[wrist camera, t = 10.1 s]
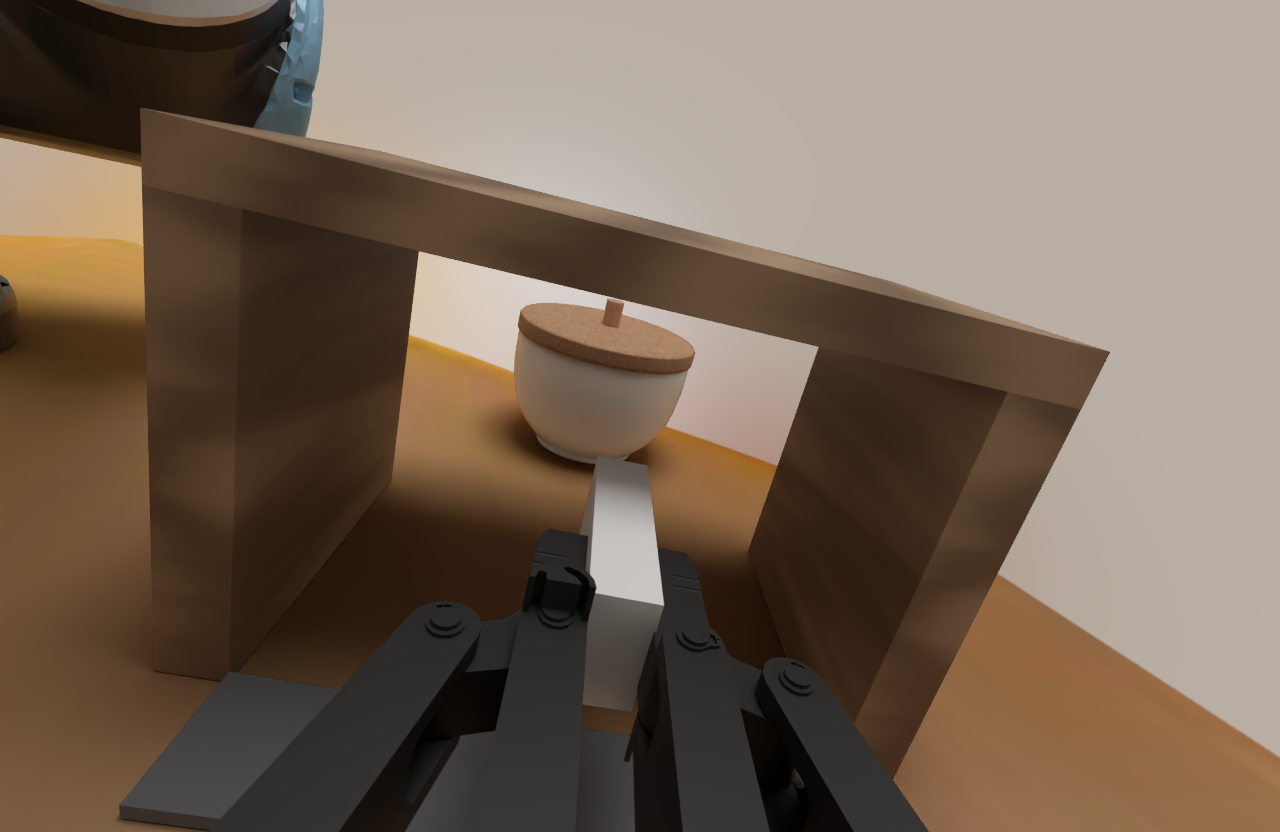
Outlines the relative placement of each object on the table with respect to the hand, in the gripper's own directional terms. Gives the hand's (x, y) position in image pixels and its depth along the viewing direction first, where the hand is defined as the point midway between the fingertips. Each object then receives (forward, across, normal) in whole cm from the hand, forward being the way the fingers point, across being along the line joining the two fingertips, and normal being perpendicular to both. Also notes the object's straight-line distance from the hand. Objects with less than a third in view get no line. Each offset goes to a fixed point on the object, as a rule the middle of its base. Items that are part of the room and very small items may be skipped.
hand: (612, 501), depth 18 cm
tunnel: (+4, 0, -7) cm, 8 cm away
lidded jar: (+20, 0, -7) cm, 21 cm away
